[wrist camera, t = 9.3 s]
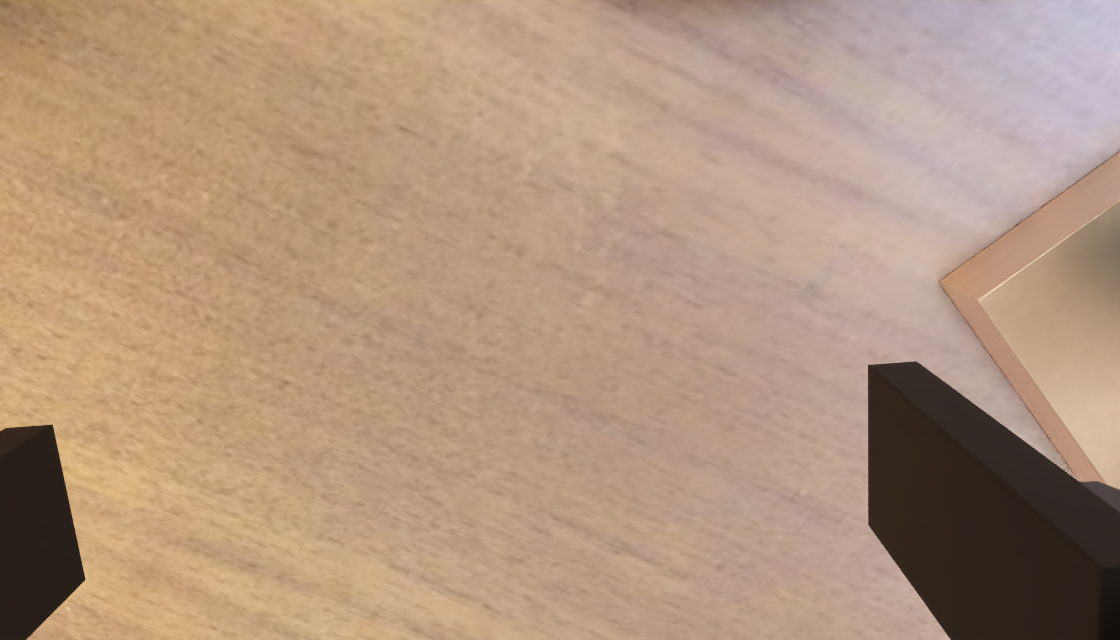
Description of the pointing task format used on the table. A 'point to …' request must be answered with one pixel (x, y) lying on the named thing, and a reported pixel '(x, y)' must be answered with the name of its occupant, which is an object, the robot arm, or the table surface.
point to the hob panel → (1058, 318)
